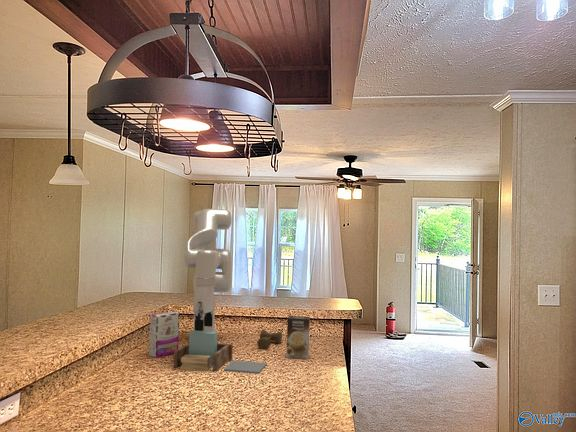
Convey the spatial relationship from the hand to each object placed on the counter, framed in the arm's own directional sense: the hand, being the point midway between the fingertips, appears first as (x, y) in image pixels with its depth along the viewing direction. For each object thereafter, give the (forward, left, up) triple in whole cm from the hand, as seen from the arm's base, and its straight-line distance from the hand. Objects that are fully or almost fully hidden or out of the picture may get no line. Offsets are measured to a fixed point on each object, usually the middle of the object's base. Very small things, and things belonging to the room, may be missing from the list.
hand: (203, 328), depth 173 cm
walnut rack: (-1, 0, -13) cm, 13 cm away
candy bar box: (-10, -20, -14) cm, 26 cm away
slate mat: (-1, +17, -13) cm, 22 cm away
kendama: (-39, +17, -14) cm, 45 cm away
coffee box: (-22, +33, -14) cm, 42 cm away
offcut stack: (+6, 0, -14) cm, 15 cm away
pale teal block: (-1, 0, -14) cm, 14 cm away
